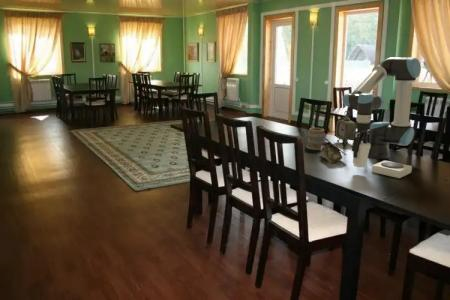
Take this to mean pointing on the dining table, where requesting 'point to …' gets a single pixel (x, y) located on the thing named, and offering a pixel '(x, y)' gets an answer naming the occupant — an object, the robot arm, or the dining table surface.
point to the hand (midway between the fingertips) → (359, 161)
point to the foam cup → (362, 154)
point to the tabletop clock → (345, 129)
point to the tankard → (315, 138)
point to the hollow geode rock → (331, 152)
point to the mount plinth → (391, 169)
